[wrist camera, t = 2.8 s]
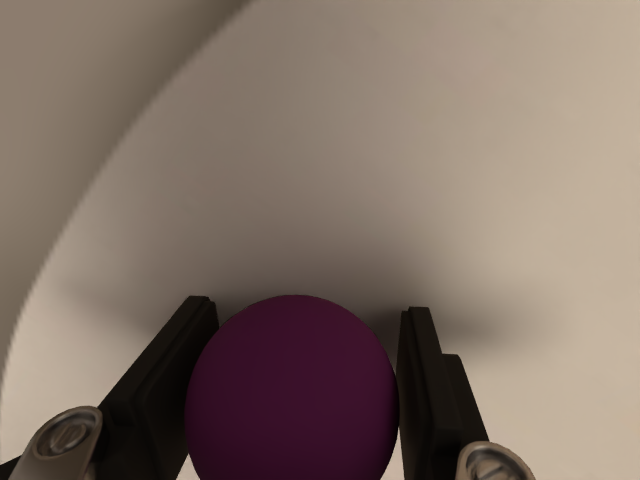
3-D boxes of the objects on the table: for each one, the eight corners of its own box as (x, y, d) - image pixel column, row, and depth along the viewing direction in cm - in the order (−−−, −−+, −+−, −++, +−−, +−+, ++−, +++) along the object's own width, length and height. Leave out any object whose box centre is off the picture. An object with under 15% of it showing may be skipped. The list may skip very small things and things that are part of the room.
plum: (251, 235, 10) (151, 371, 5) (420, 295, 10) (469, 480, 5) (216, 362, 12) (123, 539, 7) (355, 410, 12) (350, 612, 8)
